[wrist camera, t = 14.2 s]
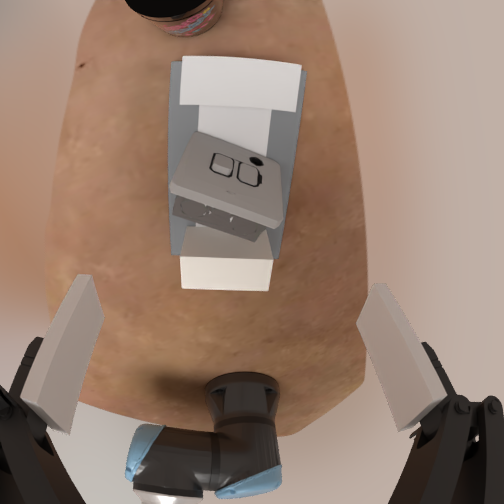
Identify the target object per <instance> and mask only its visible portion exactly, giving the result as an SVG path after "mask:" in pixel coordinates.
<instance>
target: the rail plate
mask: <svg viewBox="0 0 504 504" xmlns="http://www.w3.org/2000/svg"><path fill="white" fill-rule="evenodd" d="M301 66H302V65H298V64H292V63H285V62H278V61H270V60H261V59H251V58H238V57H220V56H183V59H182V61H174V62H171V76H170V93H169V118H168V196H169V223H170V241H171V255H180V266H181V282H182V288H186V289H211V290H245V291H268V289H269V283H270V277H271V271H272V265H273V259H278V258H279V253H280V247H281V241H282V235H283V229H284V223H285V217H286V211H287V205H288V199H289V193H290V187H291V180H292V174H293V167H294V161H295V154H296V147H297V141H298V134H299V127H300V120H301V112H302V105H303V98H304V90H305V83H306V75H307V71H303V70H301ZM194 132H201V133H204V134H207V135H210V136H213V137H215V138H218V139H221V140H223V141H226V142H229V143H231V144H234V145H237V146H239V147H242V148H244V149H247V150H250V151H252V152H255V153H257V154H259V155H262V156H264V157H267V158H269V159H272V160H274V161H276V162H277V163H278V164H279V165H280V172H281V187H282V203H283V220H282V222H281V223H280V225H279V227H277V228H275V229H273V228H270V227H266V229H265V230H264V231H263V232H262V233H261V234H260V235H259V237H258V239H257V240H256V241H255V242H252V241H249V240H246V239H243V238H240V237H237V236H234V235H231V234H228V233H225V232H222V231H219V230H216V229H213V228H210V227H207V226H204V225H201V224H198V223H195V222H192V221H189V220H186V219H183V218H180V217H177V216H174V215H172V213H173V211H172V210H173V206H174V203H175V198H176V194H173V193H171V191H170V188H169V185H170V182H171V180H172V178H173V176H174V173H175V171H176V169H177V166H178V164H179V162H180V160H181V157H182V155H183V153H184V151H185V149H186V146H187V144H188V142H189V140H190V138H191V136H192V134H193V133H194ZM186 199H187V198H186ZM205 206H206V205H205ZM212 208H214V207H212ZM181 210H182V207H181ZM205 213H206V212H205ZM210 213H211V212H209V214H210ZM204 215H205V214H204ZM232 218H233V217H232ZM232 218H230V222H231V221H232ZM234 230H235V229H234ZM244 235H246V234H244Z"/></svg>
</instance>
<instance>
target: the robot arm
mask: <svg viewBox="0 0 504 504" xmlns="http://www.w3.org/2000/svg"><path fill="white" fill-rule="evenodd" d="M104 318H105V317H104V314H103V311H102V308H101V305H100V302H99V298H98V295H97V292H96V288H95V285H94V281H93V277H92V275H86V274H78V275H77V276H76V278H75V280H74V281H73V283H72V285H71V287H70V289H69V290H68V292H67V294H66V296H65V298H64V300H63V301H62V303H61V305H60V307H59V309H58V311H57V313H56V315H55V317H54V319H53V321H52V323H51V325H50V327H49V329H48V331H47V333H46V335H45V337H44V338H41V337H36V338H35V339H34V340H33V341H32V342H31V343H30V344H29V346H28V348H27V350H26V352H25V354H24V357H23V359H22V361H21V365H20V366H19V368H18V371H17V373H16V375H15V378H14V380H13V383H12V385H11V388H10V391H9V393H8V392H7V391H6V390H5V389H4V388H3V387H2V386H1V385H0V504H86V503H85V501H84V500H83V498H82V497H81V495H80V493H79V492H78V490H77V489H76V487H75V485H74V483H73V482H72V480H71V478H70V477H69V475H68V473H67V471H66V469H65V468H64V466H63V464H62V462H61V460H60V458H59V456H58V454H57V452H56V450H55V448H54V445H53V443H52V441H51V439H50V437H49V435H48V433H47V432H46V428H47V425H48V426H49V427H50V428H51V429H53V431H56V432H59V433H62V434H66V435H70V431H71V426H72V422H73V417H74V414H75V410H76V406H77V402H78V399H79V395H80V391H81V388H82V384H83V381H84V378H85V374H86V371H87V368H88V365H89V362H90V358H91V355H92V352H93V349H94V346H95V343H96V341H97V338H98V335H99V332H100V329H101V327H102V324H103V321H104ZM356 325H357V327H358V330H359V332H360V334H361V337H362V339H363V341H364V344H365V346H366V348H367V351H368V353H369V356H370V358H371V360H372V363H373V366H374V368H375V370H376V373H377V375H378V378H379V381H380V383H381V386H382V388H383V391H384V394H385V396H386V399H387V402H388V404H389V407H390V410H391V412H392V415H393V418H394V421H395V423H396V427H397V429H398V432H400V431H403V430H406V429H409V428H412V427H413V426H415V425H416V424H417V423H418V422H419V421H420V424H421V427H419V428H418V429H417V430H416V431H414V432H413V433H412V434H411V435H410V437H409V438H412V437H413V436H415V435H416V437H415V439H414V443H413V446H412V449H411V452H410V454H409V457H408V459H407V462H406V465H405V467H404V469H403V472H402V474H401V476H400V479H399V481H398V483H397V485H396V488H395V490H394V492H393V494H392V496H391V498H390V500H389V503H388V504H504V415H503V408H502V404H501V402H500V401H499V399H498V398H496V397H495V396H488V397H487V398H486V399H484V400H483V401H482V402H470V401H469V400H468V399H467V398H466V397H464V396H463V395H457V394H456V392H455V390H454V388H453V386H452V384H451V382H450V380H449V378H448V376H447V374H446V373H445V370H444V369H443V368H442V365H441V363H440V361H438V357H437V355H436V354H435V352H434V350H433V349H432V348H431V347H430V346H429V345H428V344H427V343H426V342H422V343H421V342H420V341H419V339H418V337H417V335H416V333H415V332H414V330H413V328H412V326H411V325H410V323H409V321H408V319H407V318H406V316H405V314H404V312H403V311H402V309H401V308H400V306H399V304H398V302H397V301H396V299H395V298H394V296H393V294H392V293H391V291H390V289H389V288H388V286H387V285H386V284H373V285H372V288H371V290H370V292H369V295H368V297H367V299H366V302H365V304H364V306H363V308H362V311H361V313H360V315H359V317H358V320H357V322H356ZM279 398H280V393H279V386H278V384H277V382H276V381H275V380H274V379H272V378H271V377H269V376H266V375H263V374H258V373H249V372H241V373H232V374H227V375H223V376H220V377H217V378H215V379H213V380H212V381H210V382H209V383H208V384H207V386H206V388H205V401H206V404H207V407H208V410H209V412H210V415H211V418H212V420H213V423H214V432H205V431H195V430H187V429H180V428H173V427H167V426H166V425H162V426H160V425H152V424H142V425H140V426H139V427H138V428H137V429H136V431H135V433H134V436H133V439H132V442H131V445H130V448H129V452H128V457H127V462H126V470H125V478H126V479H127V480H129V481H130V482H132V481H133V482H134V483H133V491H134V492H135V493H136V494H137V495H138V496H139V498H140V499H141V501H142V504H198V503H199V502H201V501H202V500H203V490H209V491H215V495H216V497H217V498H219V499H233V498H242V497H248V496H254V495H259V494H263V493H267V492H270V491H273V490H275V489H277V488H278V487H279V486H280V485H281V483H282V474H281V468H282V465H281V462H280V455H279V449H278V442H277V435H276V429H275V416H276V412H277V407H278V402H279ZM477 435H479V441H477V442H476V440H475V437H476V436H477Z"/></svg>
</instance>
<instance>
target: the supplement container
mask: <svg viewBox="0 0 504 504" xmlns="http://www.w3.org/2000/svg"><path fill="white" fill-rule="evenodd" d="M125 1H126V3H127V4H128V6H129V7H130V8H131V9H132V10H134V11H135V12H137V13H138V14H139V15H141V16H142V17H144V18H146V19H148V20H149V21H151V22H152V23H154V24H155V25H157V26H158V27H159V28H161V29H162V30H163V31H165V32H166V33H168V34H171V35H174V36H178V37H190V36H195V35H198V34H201V33H203V32H205V31H207V30H208V29H210V28H211V27H212V26H213V25H214V24H215V23H216V22H217V21H218V19H219V18H220V16H221V13H222V9H223V1H222V0H125Z"/></svg>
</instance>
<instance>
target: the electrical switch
mask: <svg viewBox="0 0 504 504" xmlns="http://www.w3.org/2000/svg"><path fill="white" fill-rule="evenodd" d="M169 188H170V191H171V193H173V194H176V198H175V203H174V206H173V210H172V211H173V213H172V215H174V216H177V217H180V218H183V219H186V220H189V221H192V222H195V223H198V224H201V225H204V226H207V227H210V228H213V229H216V230H219V231H222V232H225V233H228V234H231V235H234V236H237V237H240V238H243V239H246V240H249V241H252V242H255V241H256V240H257V239H258V237H259V235H260V234H261V233H262V232H263V231H264V230H265V229H266V227H270V228H273V229H275V228H277V227H279V225H280V223H281V222H282V220H283V203H282V187H281V172H280V165H279V164H278V163H277V162H276V161H274V160H272V159H269V158H267V157H264V156H262V155H259V154H257V153H255V152H252V151H250V150H247V149H244V148H242V147H239V146H237V145H234V144H231V143H229V142H226V141H223V140H221V139H218V138H215V137H213V136H210V135H207V134H204V133H201V132H194V133H193V134H192V136H191V138H190V140H189V142H188V144H187V146H186V149H185V151H184V153H183V155H182V157H181V160H180V162H179V164H178V166H177V169H176V171H175V173H174V176H173V178H172V180H171V182H170V185H169ZM186 198H187V199H186ZM205 205H206V206H205ZM181 207H182V210H181ZM212 207H214V208H212ZM205 212H206V213H205ZM209 212H211V213H210V214H209ZM204 214H205V215H204ZM232 217H233V218H232ZM230 218H232V221H231V222H230ZM234 229H235V230H234ZM244 234H246V235H244Z"/></svg>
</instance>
